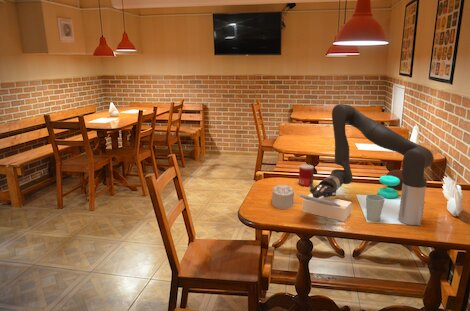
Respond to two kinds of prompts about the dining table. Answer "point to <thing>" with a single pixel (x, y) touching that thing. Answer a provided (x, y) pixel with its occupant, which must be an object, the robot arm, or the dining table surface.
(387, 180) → the pair of teal discs
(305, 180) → the canned food
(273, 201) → the paw print tray
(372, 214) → the cup
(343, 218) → the carton
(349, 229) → the dining table surface
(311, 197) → the flap
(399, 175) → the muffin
